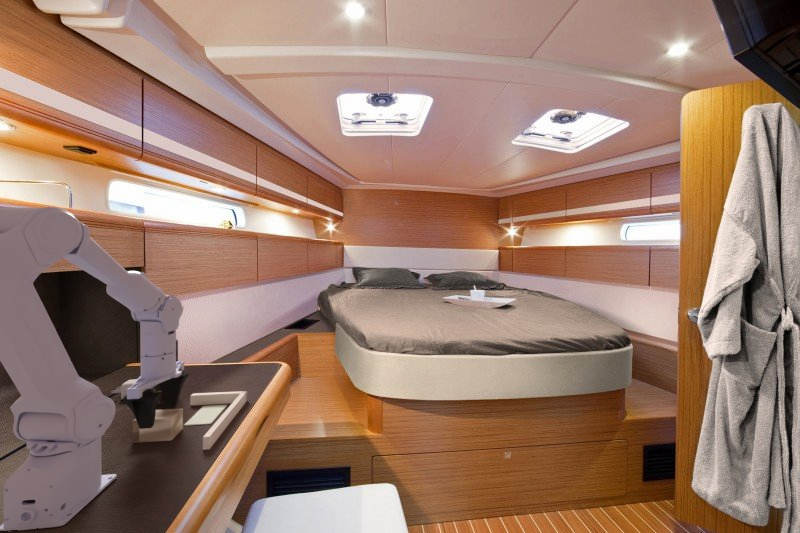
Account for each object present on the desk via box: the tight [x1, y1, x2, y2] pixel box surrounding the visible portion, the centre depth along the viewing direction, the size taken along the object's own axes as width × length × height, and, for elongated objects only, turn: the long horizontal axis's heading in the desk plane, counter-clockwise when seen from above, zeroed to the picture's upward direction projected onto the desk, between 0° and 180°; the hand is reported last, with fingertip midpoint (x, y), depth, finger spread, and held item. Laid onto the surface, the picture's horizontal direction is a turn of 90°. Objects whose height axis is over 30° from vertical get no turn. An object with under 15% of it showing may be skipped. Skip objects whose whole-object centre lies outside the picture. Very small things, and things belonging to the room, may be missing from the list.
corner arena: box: [183, 390, 248, 451], centre depth 66 cm, size 20×13×2 cm, turn 8°
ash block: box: [132, 408, 184, 444], centre depth 62 cm, size 4×7×4 cm, turn 98°
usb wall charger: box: [111, 378, 138, 400], centre depth 79 cm, size 4×7×4 cm, turn 105°
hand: (159, 417), depth 62 cm, fingers open, 7 cm apart
